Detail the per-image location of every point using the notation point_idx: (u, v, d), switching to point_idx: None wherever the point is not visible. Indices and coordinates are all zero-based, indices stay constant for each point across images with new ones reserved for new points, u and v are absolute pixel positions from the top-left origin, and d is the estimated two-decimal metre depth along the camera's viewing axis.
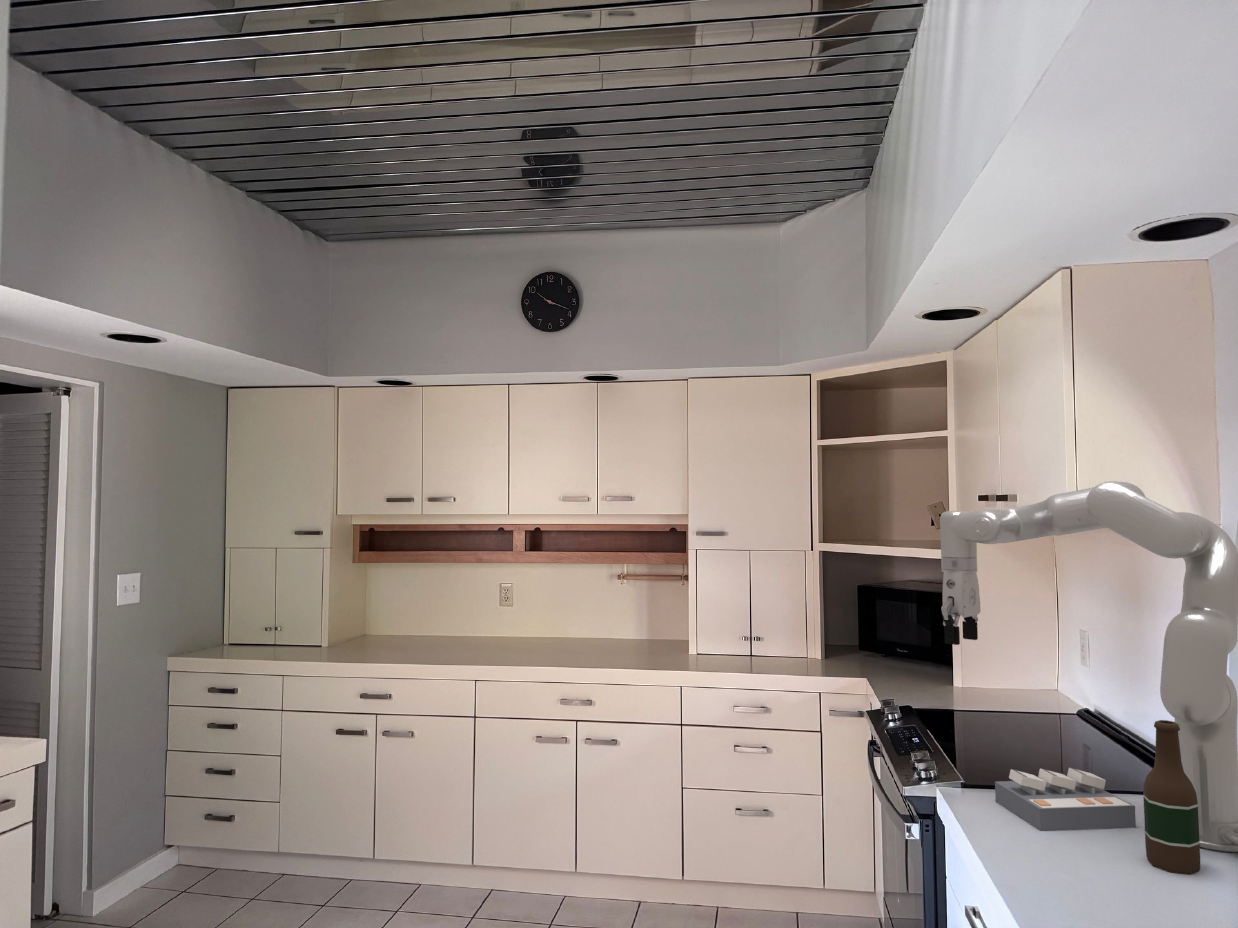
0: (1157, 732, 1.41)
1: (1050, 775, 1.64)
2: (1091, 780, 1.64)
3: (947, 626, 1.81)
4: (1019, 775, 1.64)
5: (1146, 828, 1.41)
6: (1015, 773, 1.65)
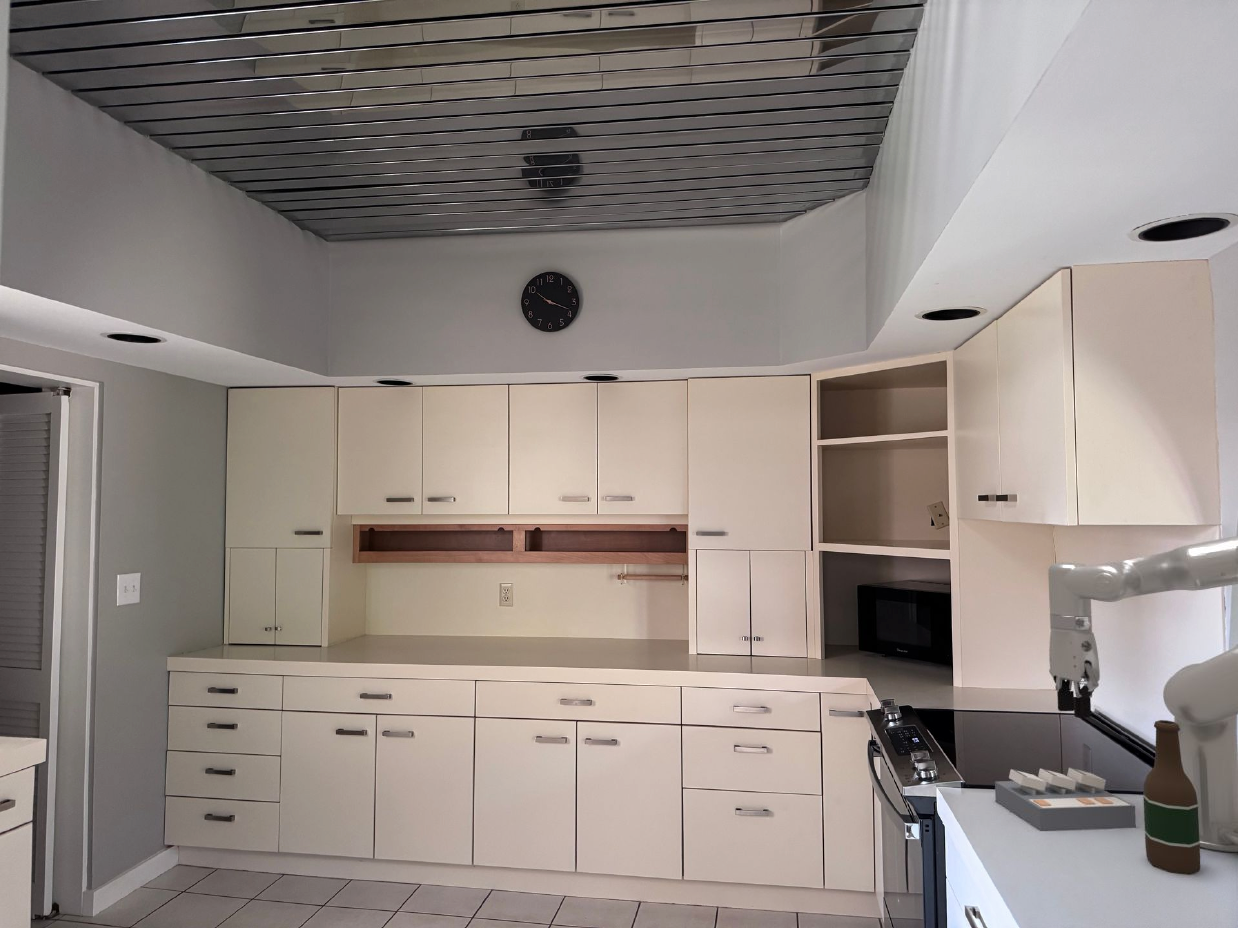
0: (1157, 732, 1.41)
1: (1050, 775, 1.64)
2: (1091, 780, 1.64)
3: (1082, 698, 1.63)
4: (1019, 775, 1.64)
5: (1146, 828, 1.41)
6: (1015, 773, 1.65)
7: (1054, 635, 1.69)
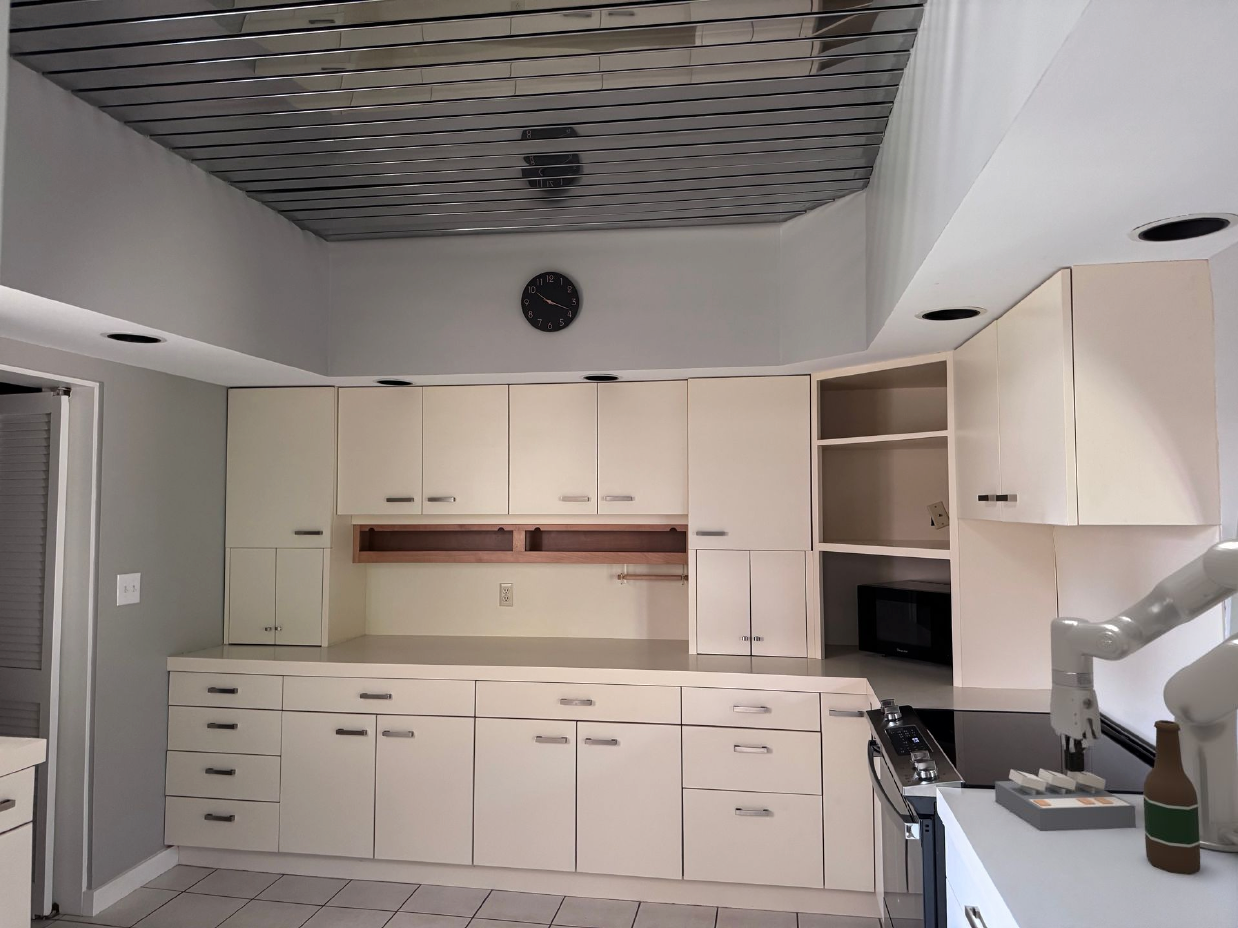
0: (1157, 732, 1.41)
1: (1050, 775, 1.64)
2: (1091, 780, 1.64)
3: (1076, 753, 1.65)
4: (1019, 775, 1.64)
5: (1146, 828, 1.41)
6: (1015, 773, 1.65)
7: (1056, 689, 1.69)
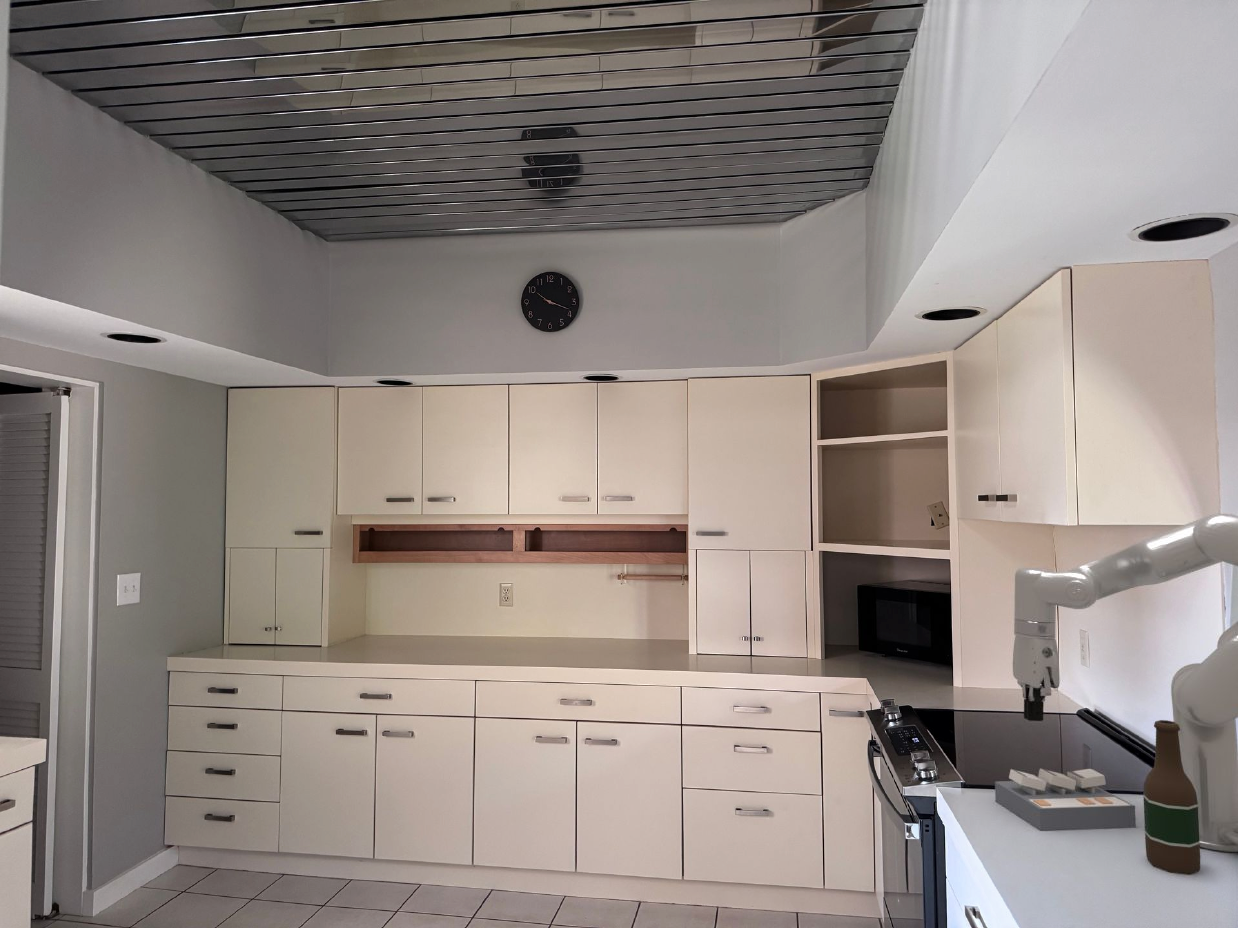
0: (1157, 732, 1.41)
1: (1050, 775, 1.64)
2: (1091, 781, 1.64)
3: (1035, 702, 1.65)
4: (1019, 775, 1.64)
5: (1146, 828, 1.41)
6: (1015, 773, 1.65)
7: (1018, 639, 1.69)
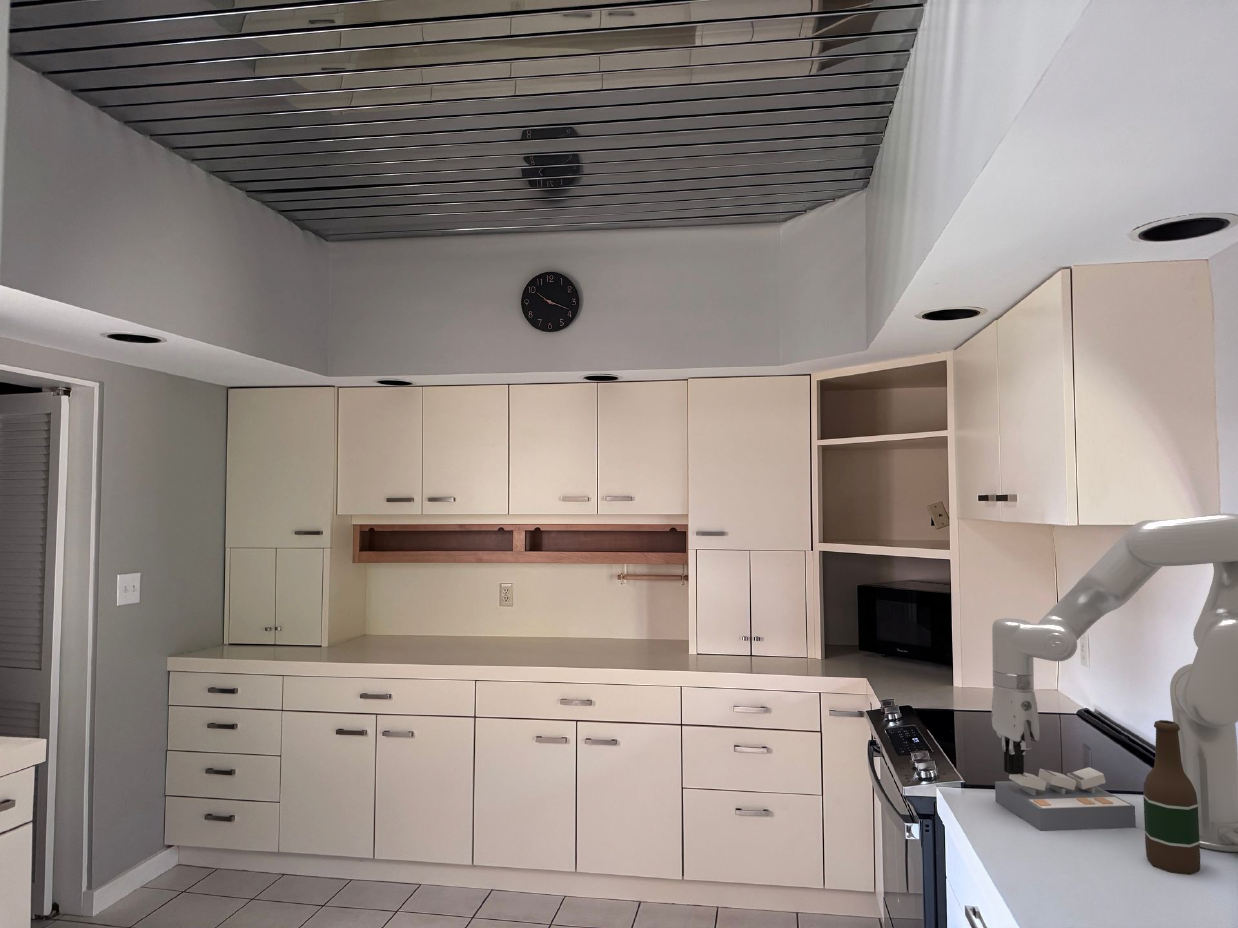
0: (1157, 732, 1.41)
1: (1050, 775, 1.64)
2: (1091, 781, 1.64)
3: (1015, 755, 1.64)
4: (1019, 775, 1.64)
5: (1146, 828, 1.41)
6: None
7: (997, 691, 1.68)
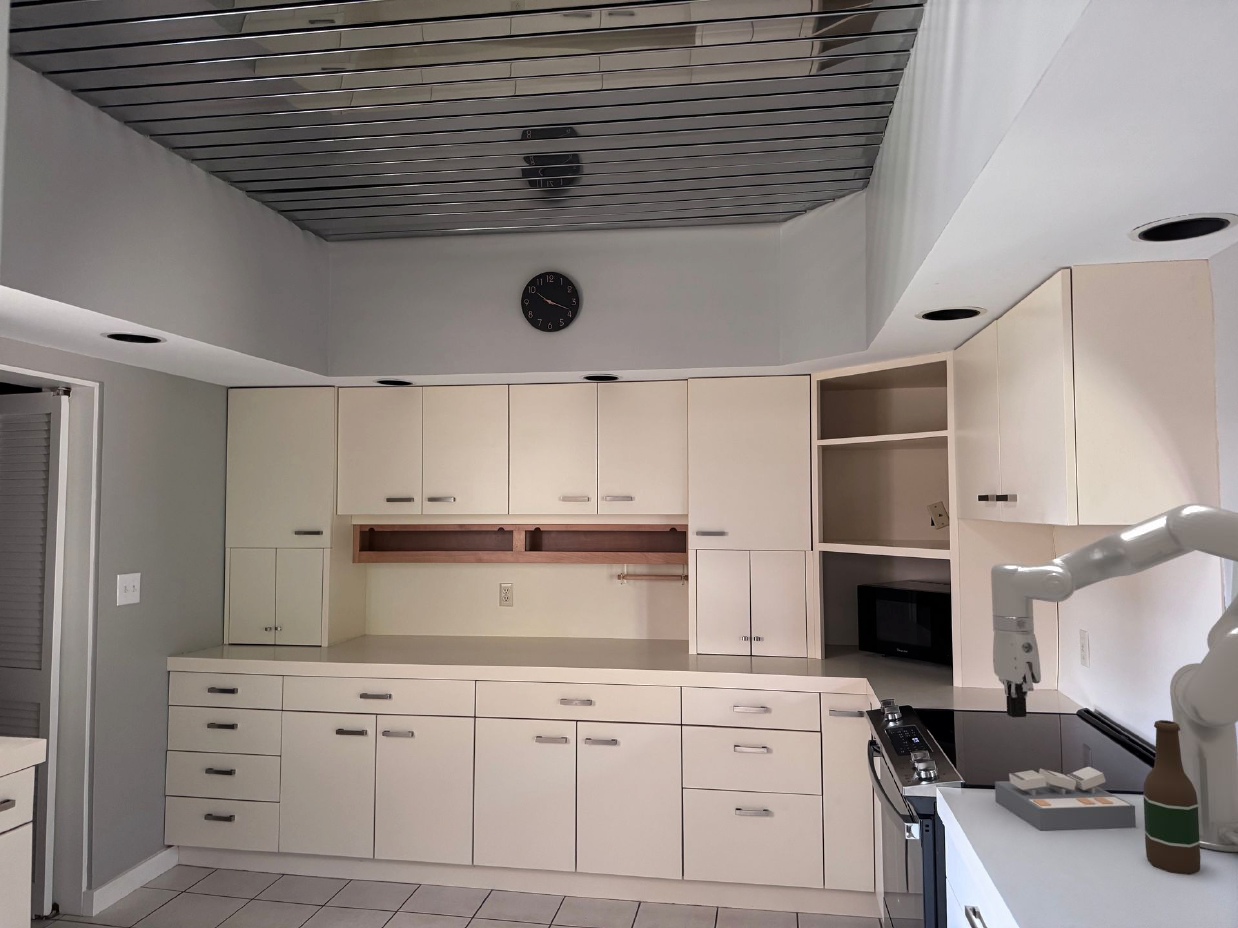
0: (1157, 732, 1.41)
1: (1050, 775, 1.64)
2: (1091, 781, 1.64)
3: (1017, 698, 1.64)
4: (1018, 780, 1.64)
5: (1146, 828, 1.41)
6: (1014, 778, 1.65)
7: (997, 636, 1.68)
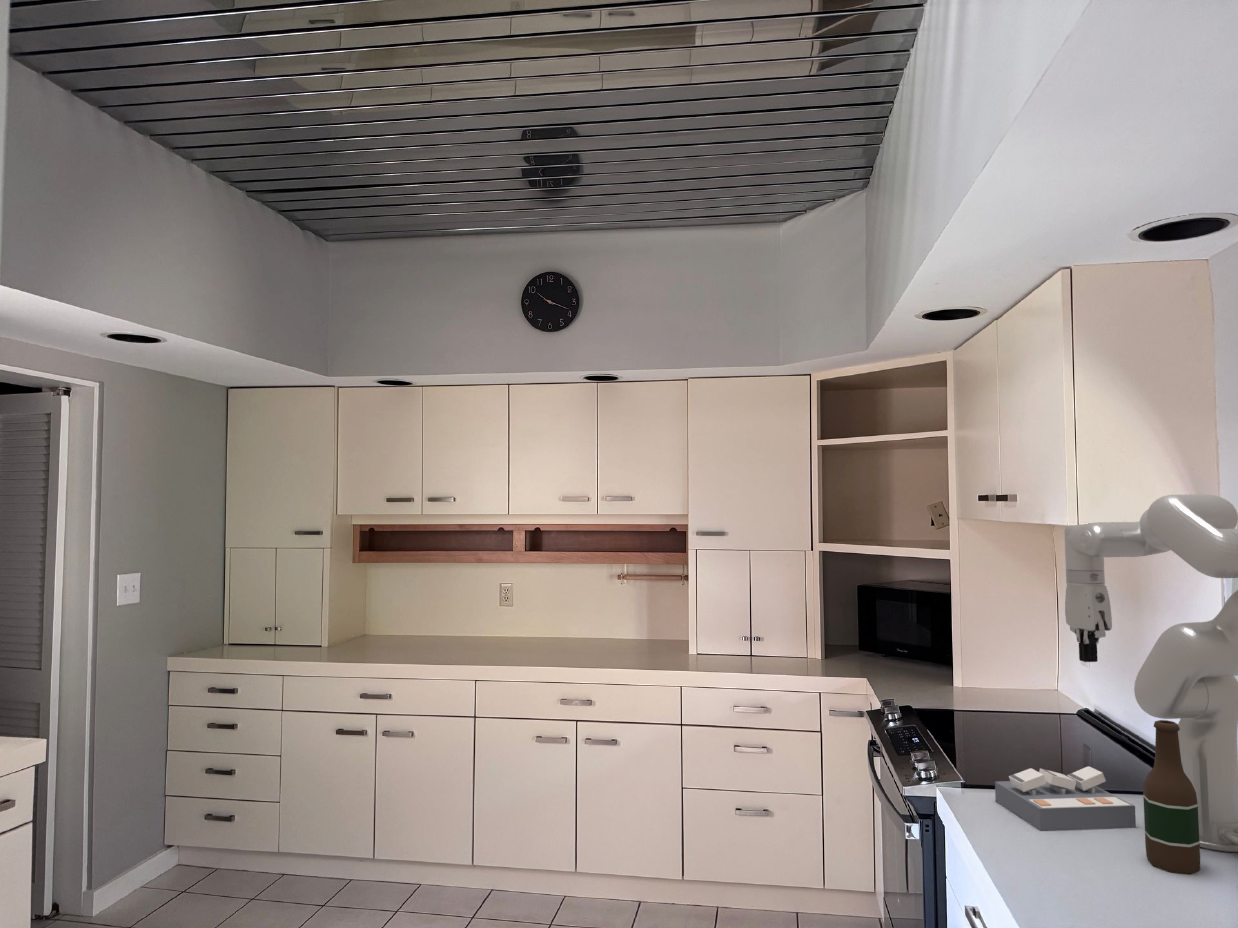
0: (1157, 732, 1.41)
1: (1050, 775, 1.64)
2: (1091, 781, 1.64)
3: (1089, 644, 1.81)
4: (1018, 782, 1.64)
5: (1146, 828, 1.41)
6: (1014, 780, 1.65)
7: (1070, 589, 1.84)
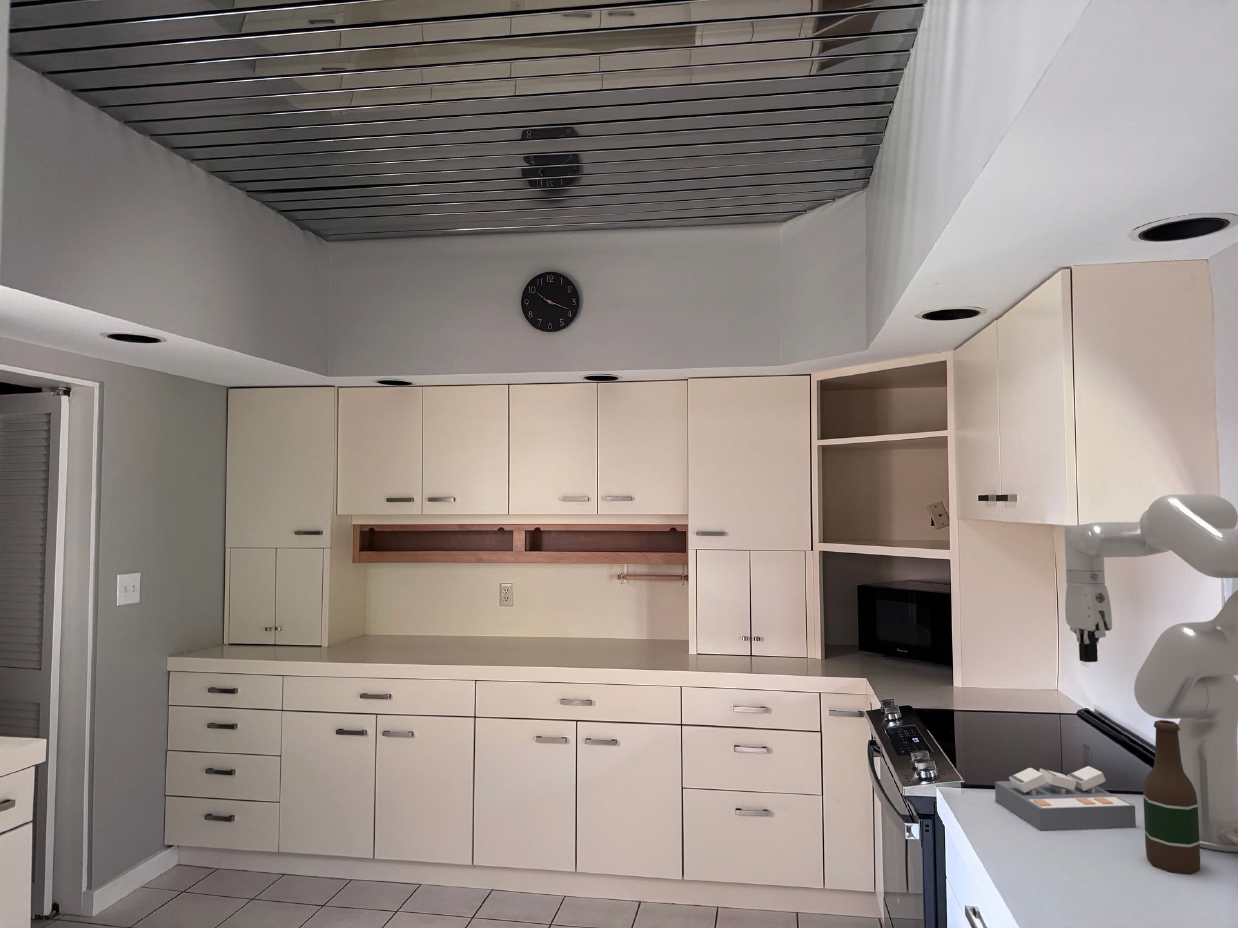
0: (1157, 732, 1.41)
1: (1050, 775, 1.64)
2: (1091, 781, 1.64)
3: (1090, 644, 1.81)
4: (1018, 783, 1.64)
5: (1146, 828, 1.41)
6: (1014, 781, 1.65)
7: (1070, 589, 1.85)
